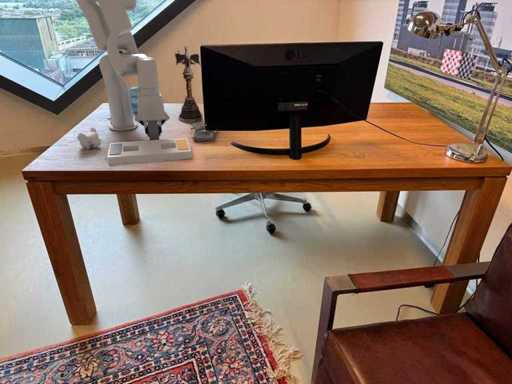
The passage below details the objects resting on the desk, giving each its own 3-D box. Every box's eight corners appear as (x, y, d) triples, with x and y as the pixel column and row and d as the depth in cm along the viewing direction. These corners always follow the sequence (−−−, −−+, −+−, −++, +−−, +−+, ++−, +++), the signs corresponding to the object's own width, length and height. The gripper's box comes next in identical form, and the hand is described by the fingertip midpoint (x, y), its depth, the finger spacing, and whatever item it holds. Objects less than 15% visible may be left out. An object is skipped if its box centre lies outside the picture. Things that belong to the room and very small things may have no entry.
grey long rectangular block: (149, 144, 148) (146, 112, 142) (149, 140, 152) (146, 109, 145) (159, 143, 149) (156, 112, 143) (159, 140, 153) (156, 109, 146)
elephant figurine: (95, 152, 139) (92, 135, 136) (75, 149, 142) (71, 131, 138) (108, 145, 146) (105, 129, 142) (88, 142, 148) (84, 125, 145)
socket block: (108, 165, 130) (107, 156, 129) (111, 150, 142) (109, 142, 140) (191, 158, 138) (191, 150, 136) (187, 144, 150) (187, 137, 148)
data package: (131, 112, 184) (128, 88, 178) (133, 109, 188) (130, 86, 182) (155, 112, 185) (153, 89, 179) (156, 110, 189) (154, 87, 183)
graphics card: (190, 122, 165) (216, 122, 165) (191, 130, 167) (217, 130, 167) (185, 136, 151) (214, 136, 151) (186, 144, 152) (214, 144, 153)
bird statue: (178, 112, 187) (172, 40, 169) (203, 112, 188) (200, 41, 170) (173, 122, 173) (167, 45, 155) (201, 123, 174) (198, 46, 156)
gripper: (126, 94, 135) (132, 139, 144) (171, 92, 139) (175, 137, 148) (127, 89, 141) (133, 133, 150) (170, 88, 145) (173, 130, 154)
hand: (153, 134), depth 149 cm, fingers closed on grey long rectangular block, 4 cm apart
